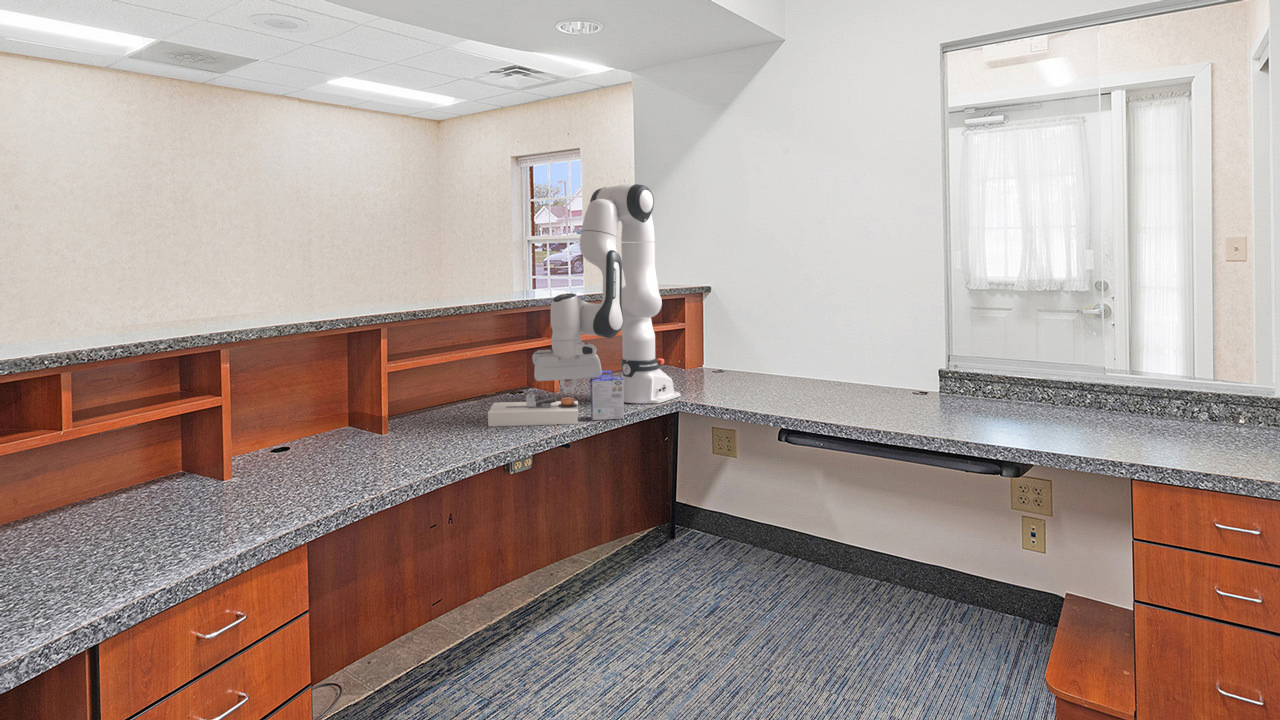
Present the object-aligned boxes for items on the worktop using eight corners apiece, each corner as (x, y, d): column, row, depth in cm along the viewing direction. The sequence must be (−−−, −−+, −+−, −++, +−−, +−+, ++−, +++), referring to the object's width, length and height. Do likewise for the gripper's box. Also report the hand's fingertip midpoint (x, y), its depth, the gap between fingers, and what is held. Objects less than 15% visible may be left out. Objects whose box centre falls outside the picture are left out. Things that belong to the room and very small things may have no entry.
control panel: (578, 413, 226) (577, 396, 225) (577, 424, 212) (577, 405, 212) (494, 415, 224) (493, 397, 223) (488, 426, 211) (487, 407, 210)
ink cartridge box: (621, 414, 224) (621, 368, 221) (625, 419, 218) (624, 371, 216) (589, 416, 222) (589, 370, 219) (592, 420, 216) (591, 373, 214)
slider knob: (535, 404, 219) (534, 393, 219) (534, 406, 216) (534, 395, 215) (527, 404, 219) (527, 393, 219) (526, 406, 216) (526, 395, 215)
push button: (574, 402, 220) (574, 397, 220) (574, 405, 217) (574, 400, 216) (561, 402, 220) (561, 397, 220) (560, 405, 216) (560, 400, 216)
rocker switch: (556, 399, 220) (555, 396, 220) (555, 402, 216) (555, 398, 216) (537, 404, 219) (536, 400, 219) (536, 406, 216) (535, 403, 216)
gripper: (532, 351, 211) (534, 398, 214) (601, 348, 214) (603, 393, 217) (531, 348, 217) (534, 393, 220) (599, 345, 221) (600, 389, 223)
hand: (569, 393), depth 218 cm, fingers closed
